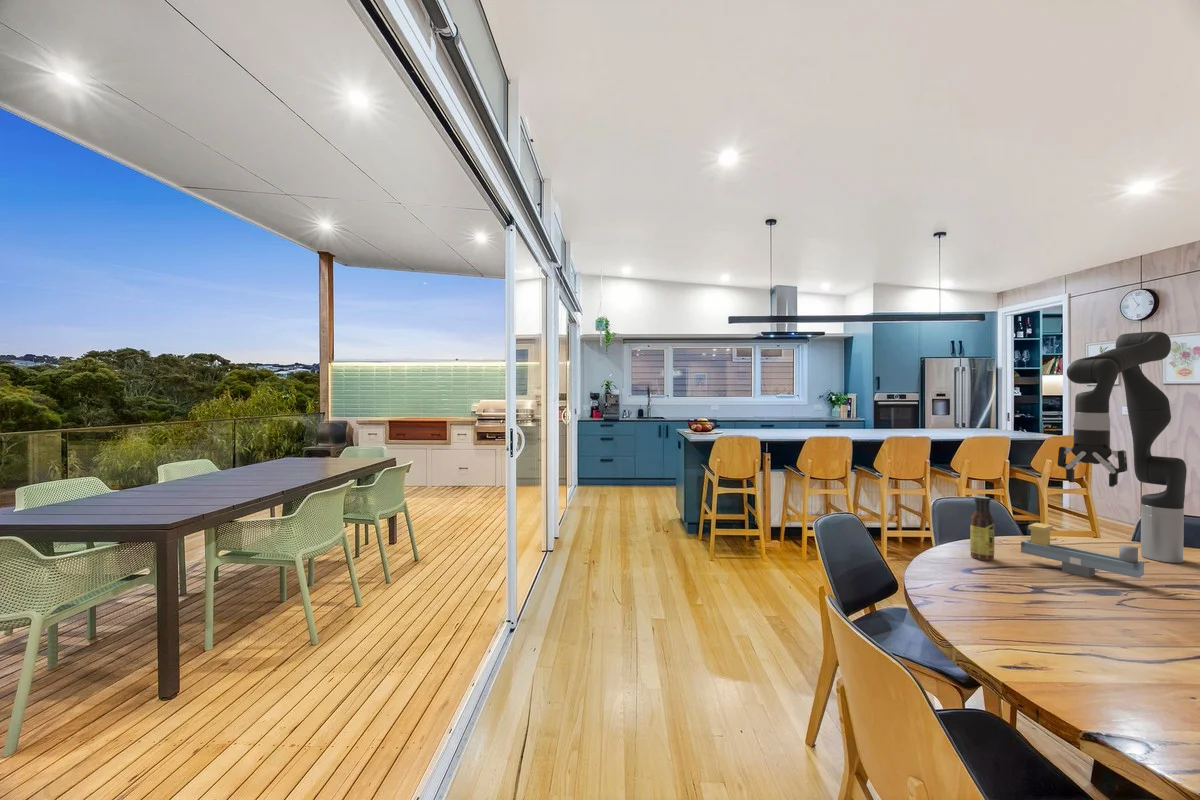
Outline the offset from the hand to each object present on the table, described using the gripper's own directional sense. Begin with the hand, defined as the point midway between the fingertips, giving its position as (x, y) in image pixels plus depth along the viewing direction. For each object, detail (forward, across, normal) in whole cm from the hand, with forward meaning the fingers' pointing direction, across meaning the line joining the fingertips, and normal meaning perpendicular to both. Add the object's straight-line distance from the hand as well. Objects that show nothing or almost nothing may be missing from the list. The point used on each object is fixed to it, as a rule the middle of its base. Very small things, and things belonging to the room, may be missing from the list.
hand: (1091, 484), depth 144 cm
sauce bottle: (+28, +24, +5) cm, 37 cm away
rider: (+22, +12, -3) cm, 26 cm away
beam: (+27, +3, -3) cm, 28 cm away
